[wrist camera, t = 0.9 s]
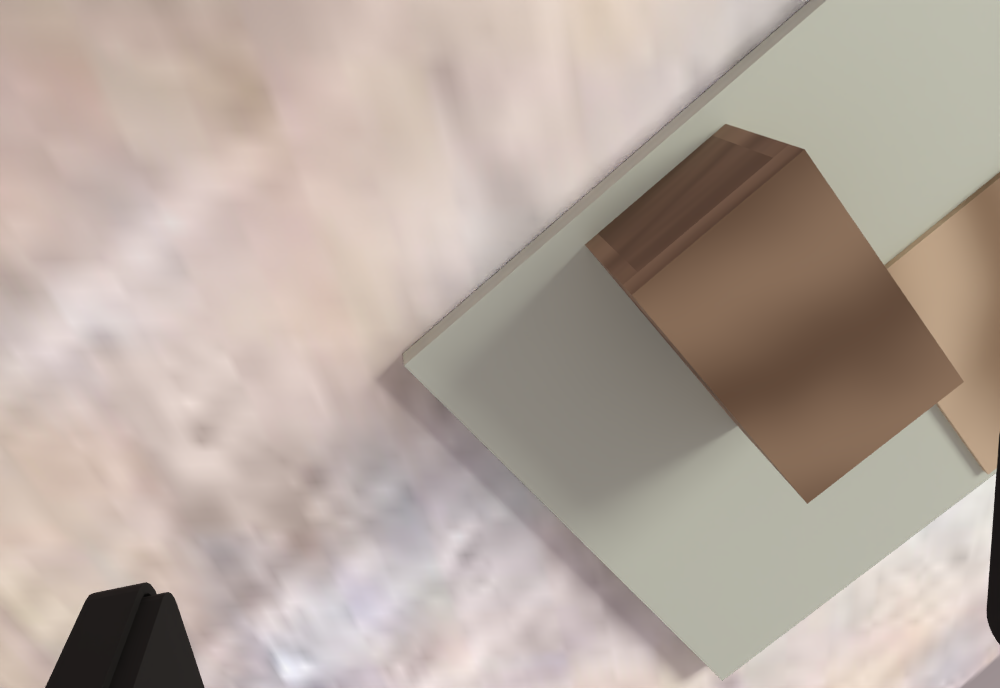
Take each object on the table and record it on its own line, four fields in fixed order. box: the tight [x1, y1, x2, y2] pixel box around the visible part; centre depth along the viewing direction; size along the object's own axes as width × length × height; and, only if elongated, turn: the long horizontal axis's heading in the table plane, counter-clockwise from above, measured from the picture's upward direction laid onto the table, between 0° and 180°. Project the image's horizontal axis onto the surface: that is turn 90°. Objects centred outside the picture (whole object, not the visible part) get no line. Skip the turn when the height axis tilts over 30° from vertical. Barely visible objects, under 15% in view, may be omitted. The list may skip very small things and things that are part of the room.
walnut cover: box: [585, 124, 964, 504], centre depth 31 cm, size 10×6×6 cm, turn 41°
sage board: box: [403, 0, 1000, 681], centre depth 35 cm, size 26×21×1 cm
